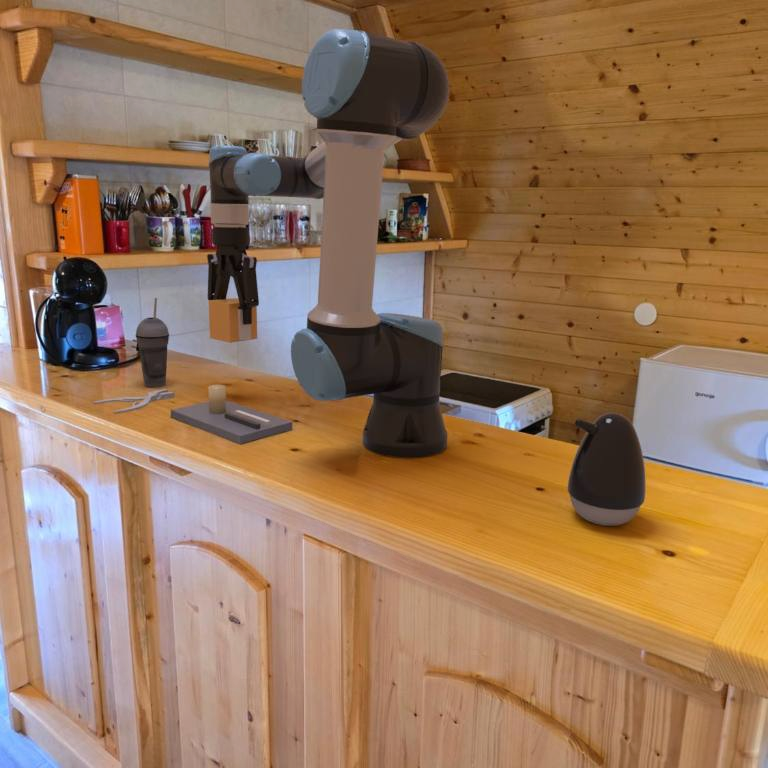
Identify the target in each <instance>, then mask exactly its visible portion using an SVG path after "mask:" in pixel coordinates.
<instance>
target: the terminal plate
mask: <svg viewBox="0 0 768 768" xmlns="http://www.w3.org/2000/svg"><path fill="white" fill-rule="evenodd" d="M226 389H227V388H226V385H224V384H211V385H208V401H204V402H199V403H195V404H191V405H185V406H182V407H177V408H173V409H170V418H172V419H174V420H178V421H180V422H182V423H185V424H187V425H190V426H192V427H195V428H198V429H201V430H203V431H205V432H208V433H211V434H213V435H216V436H218V437H220V438H221V437H222V438H224V439H226V440H228V441H232V442H234V443H237V444H239V445H242V444H245V443H246V444H247V443H249V442H254V441H257V440H259V439H264V438H268V437H270V436H275V435H278V434H282V433H285V432H288V431H292V430H293V421H290V420H287V419H284V418H282V417H278V416H275V415H273V414H269V413H266V412H263V411H260V410H258V409H254V408H251V407H248V406H245V405H241V404H239V403H236V402H232V401H231V400H226V399H227V396H226V394H227V392H226Z"/></svg>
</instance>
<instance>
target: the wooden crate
mask: <svg viewBox="0 0 768 768" xmlns="http://www.w3.org/2000/svg"><path fill="white" fill-rule="evenodd" d="M245 302H246V301H245ZM239 306H240V303H239V299H238V297H232V298H226V299H220V300H208V317H209V318H208V319H209V339H210V340H211V339H212V340H216V341H220V342H226V343H230V344H231V343H239V342H245V341H247V340H242V341H240V340H239V333H238V307H239ZM257 308H258V306H255V307H253V308H252V324H251V339H249V340H248V341H251V340H258V315H257V313H258V312H257V311H258V310H257Z"/></svg>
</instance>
